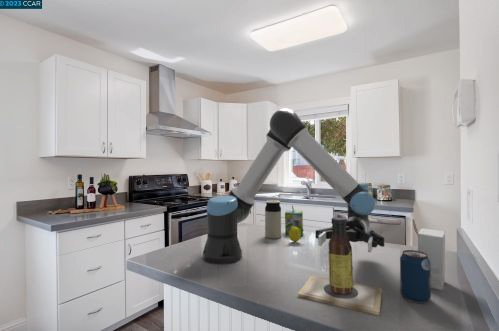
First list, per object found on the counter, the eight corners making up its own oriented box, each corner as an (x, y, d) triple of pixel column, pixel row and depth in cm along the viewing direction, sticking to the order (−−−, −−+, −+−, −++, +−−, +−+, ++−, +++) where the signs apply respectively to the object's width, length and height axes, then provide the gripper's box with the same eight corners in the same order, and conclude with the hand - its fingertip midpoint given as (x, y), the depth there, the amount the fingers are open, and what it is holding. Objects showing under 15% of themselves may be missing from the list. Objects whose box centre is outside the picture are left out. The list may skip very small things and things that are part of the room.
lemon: (285, 243, 126) (285, 221, 126) (290, 240, 131) (290, 219, 131) (298, 245, 122) (298, 223, 122) (303, 242, 127) (303, 220, 127)
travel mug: (276, 239, 131) (276, 202, 131) (262, 237, 136) (262, 201, 136) (283, 236, 138) (283, 200, 138) (269, 234, 142) (269, 199, 142)
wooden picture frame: (297, 296, 74) (297, 292, 74) (311, 278, 86) (311, 274, 86) (379, 315, 64) (379, 311, 64) (381, 291, 76) (381, 288, 76)
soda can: (437, 304, 70) (436, 257, 70) (411, 305, 69) (411, 257, 69) (418, 291, 76) (417, 248, 77) (394, 292, 76) (394, 249, 76)
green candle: (303, 236, 139) (302, 207, 139) (284, 235, 140) (284, 206, 140) (303, 231, 148) (303, 204, 148) (286, 231, 149) (286, 204, 150)
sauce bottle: (357, 294, 72) (357, 220, 72) (335, 296, 71) (335, 221, 71) (345, 284, 79) (344, 216, 79) (324, 286, 78) (324, 216, 78)
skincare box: (420, 276, 87) (420, 227, 87) (446, 281, 83) (445, 230, 83) (416, 285, 81) (416, 232, 81) (444, 291, 76) (443, 236, 77)
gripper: (394, 244, 90) (392, 264, 71) (319, 235, 102) (301, 250, 84) (394, 221, 90) (392, 236, 72) (318, 215, 102) (301, 226, 84)
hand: (343, 244), depth 77 cm, fingers open, 13 cm apart
